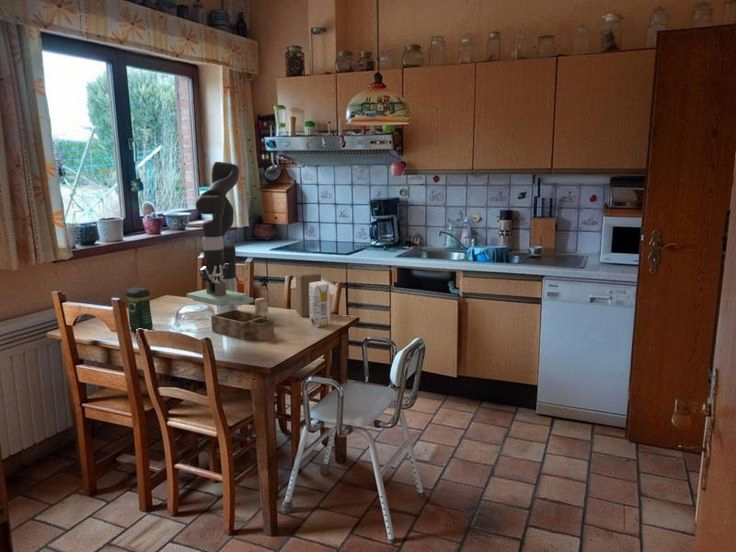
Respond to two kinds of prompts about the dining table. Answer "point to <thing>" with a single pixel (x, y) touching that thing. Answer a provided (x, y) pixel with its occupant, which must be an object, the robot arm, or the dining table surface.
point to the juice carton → (319, 304)
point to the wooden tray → (243, 325)
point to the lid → (220, 296)
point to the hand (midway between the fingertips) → (216, 291)
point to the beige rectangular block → (261, 306)
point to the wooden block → (304, 290)
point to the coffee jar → (139, 308)
